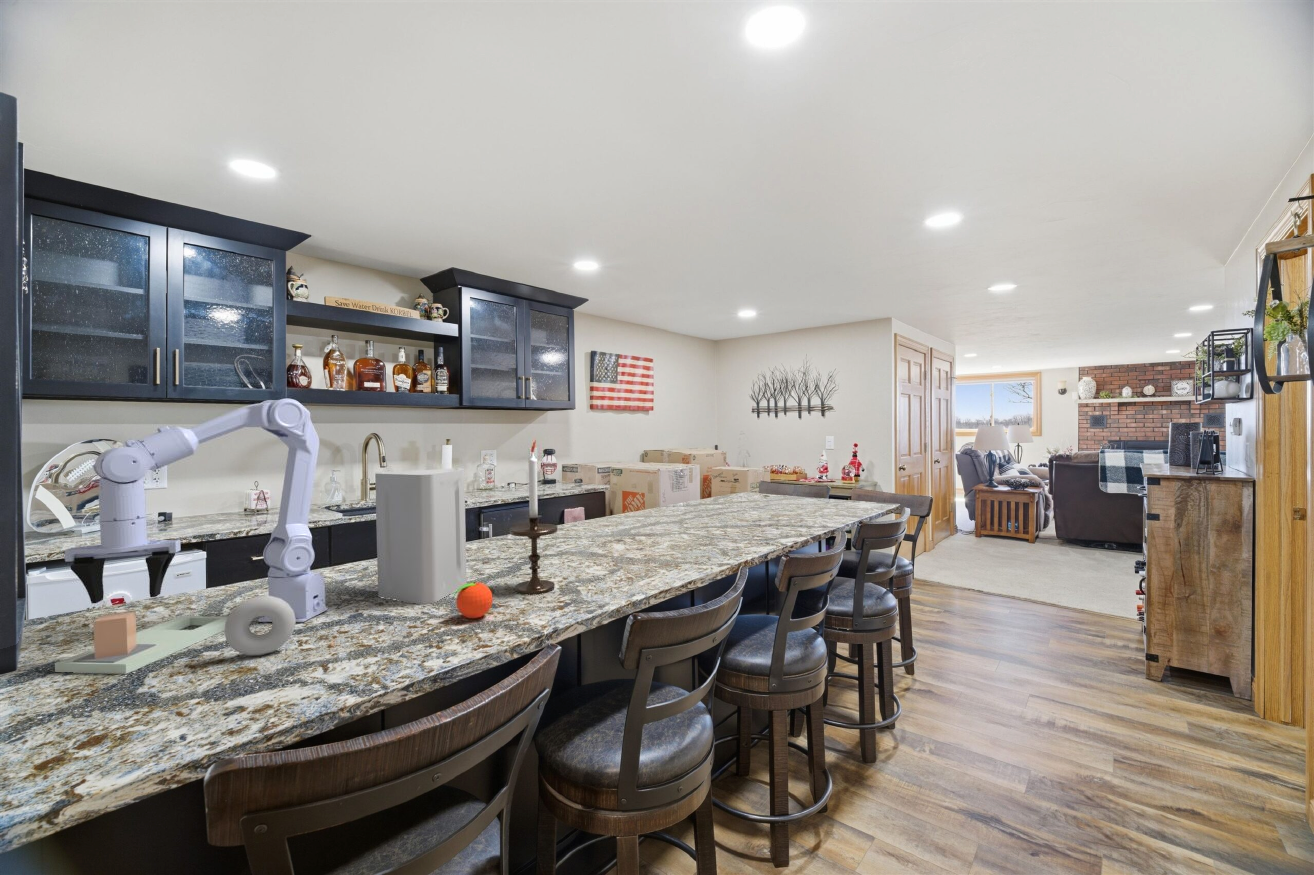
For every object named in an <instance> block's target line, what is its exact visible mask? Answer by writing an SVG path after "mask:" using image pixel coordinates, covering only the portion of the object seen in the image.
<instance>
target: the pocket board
mask: <svg viewBox="0 0 1314 875" xmlns="http://www.w3.org/2000/svg"><path fill="white" fill-rule="evenodd" d="M227 618H228V616H197V615H196V616H193V615H192V616H189V615H188V616H186V615H184V616H183V615H181V616H177V617H174V618H171V619H169V620H167V621H164V622H161V623H159V624H156V625H153V626H151V627H147V628H145V629H143V630H140V631H136V641H137V646H136V647H135V648H134V649H132V650H131V651H130V652H129V653H128V654H124V655H117V656H111V657H104V658H97V659H95V649H94V648H92V649H89V650H87V651H84V652H81V653H79V654H75V655H73V656H71V657H67V658H66V659H62V660H60V661H57V662H54V673H55V672H73V673H72V674H110V675H112V674H113V675H114V674H116V675H117V674H120V675H122V674H123V675H124V674H125V675H127V674H129V673H131V672H134V671H136V670H138V669H140V668H143V667H145V666H147V665H150V664H151V663H153V662H157V661H158V660H159V661H160V660H161V659H163V658H165V657H167V656H168V657H169V655H172V654H174V653H177V652H178V651H182V650H183V649H185V648H188V647H190V646H193V645H194V644H197V643H199V642H202V641H204V640H206V639H209V638H211V637H213V636H215V635H218V634H220V633H222V632H224V630H225V623H226V620H227ZM189 626H199V627H197V628H194V629H184V628H187V627H189Z"/></svg>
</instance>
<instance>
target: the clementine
mask: <svg viewBox="0 0 1314 875" xmlns="http://www.w3.org/2000/svg"><path fill="white" fill-rule="evenodd" d="M455 595H457V596H456V608H457V610H458V612H459V613H460V614H461V615H462V616H464V617H466V618H468V619H478V618H481V617H483V616H484V615H485V614H487V613H488V612H489V610H490V609H491V607H492V605H493V601H494V600H493V593H492V591H491V589H490V588H489V587H488V585H486V584H484V583H481V582H476V581H473V582H469V583H467V584H466V585H464V586H462V587H460V588H459V589H458V590H457V591H456V592H455V593H453V596H452V599H451V600H452V601H453V600H454V598H455Z"/></svg>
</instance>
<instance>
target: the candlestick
mask: <svg viewBox="0 0 1314 875" xmlns="http://www.w3.org/2000/svg"><path fill="white" fill-rule="evenodd" d="M536 442H537V440H536V439H534V442H533V443H532V446H531V449H530V452H531V454H530V458H528V495H529V496H528V498H529V499H528V501H529V502H528V503H529V506H528V507H529V515H526V516H525V518H526V519H528V521H529V522H528V523H527V524H519V525H515V526H511V527H510V528H509V534H510V535H511V536H514V537H527V538H528V539H530V546H531V549H530V550H531V552H530V553H531V554H530V555H528V557H527V559H528V560H529V562H530V564H531V565H530V566H529V567H528V569H529V570H531V577H530V578H529V580H526V581H521V582H519V583H516V584H515V586H514V592H515V591H516V592H517V593H516V592H515V593H516V594H519V593H520V594H519V595H524V594H528V596H532V595H533V594H536V595H541V594H542V593H543V594H546V593H550V592H552V591H553V590H555V582H554V581H552V580H547V579H540V577H539V575H538V572H539V571H538V570H539V569H540V568H541V566H540V565H539V561H540V560H541V555H540V554H539V553H538V539H540V538H541V537H543V536H550V535H553V534H556V533H557V532H558V529H559V528H558V525H556V524H551V523H539V518H542V517H543V516H542V514H541V515H540V514H539V513H538V512H539V511H538V509H539V508H538V507H539V506H538V502H539V501H538V463H537V462H538V459H537V458H536V457H535V453H534V452H535V449H536ZM538 514H539V515H538ZM529 594H530V595H529ZM543 594H542V595H543ZM533 596H534V595H533Z"/></svg>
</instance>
